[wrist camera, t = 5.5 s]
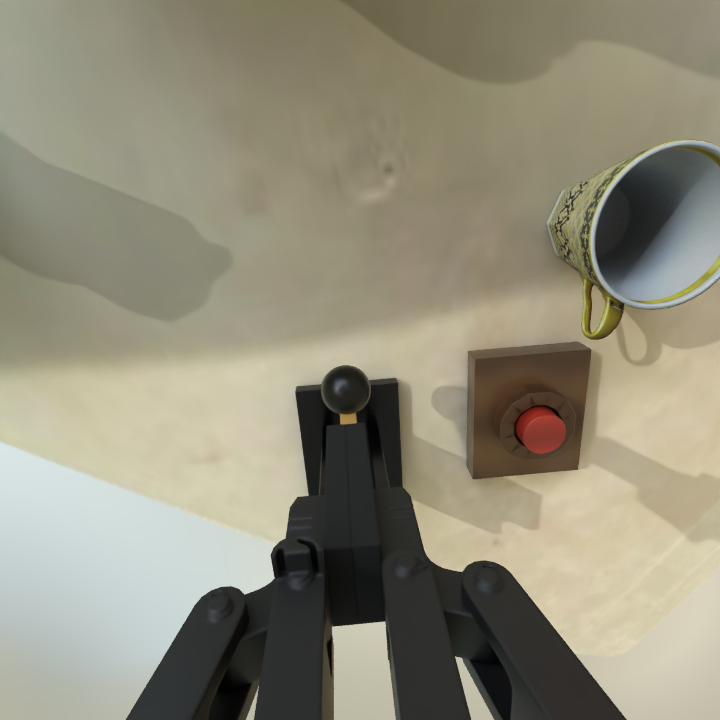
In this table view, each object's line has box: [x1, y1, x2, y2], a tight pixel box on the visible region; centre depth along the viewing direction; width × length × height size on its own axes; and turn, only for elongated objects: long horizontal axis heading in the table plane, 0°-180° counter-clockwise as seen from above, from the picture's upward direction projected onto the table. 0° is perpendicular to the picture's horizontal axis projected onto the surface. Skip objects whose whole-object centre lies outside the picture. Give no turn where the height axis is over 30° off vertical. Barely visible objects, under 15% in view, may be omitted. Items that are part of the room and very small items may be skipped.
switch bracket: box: [295, 378, 402, 496], centre depth 36 cm, size 12×9×15 cm
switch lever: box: [321, 365, 371, 425], centre depth 31 cm, size 13×3×3 cm, turn 4°
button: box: [516, 407, 566, 454], centre depth 38 cm, size 4×4×2 cm
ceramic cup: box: [546, 140, 720, 340], centre depth 33 cm, size 13×10×10 cm
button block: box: [467, 342, 591, 479], centre depth 41 cm, size 12×10×4 cm
